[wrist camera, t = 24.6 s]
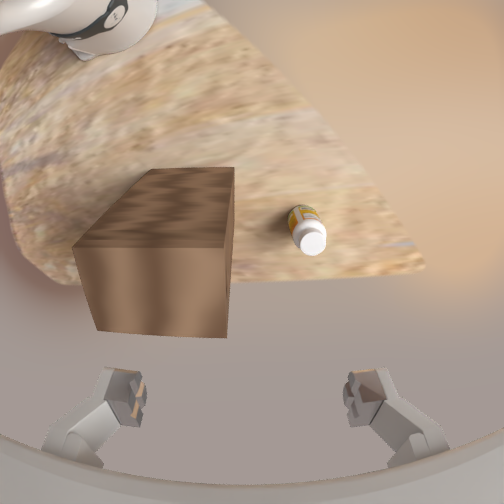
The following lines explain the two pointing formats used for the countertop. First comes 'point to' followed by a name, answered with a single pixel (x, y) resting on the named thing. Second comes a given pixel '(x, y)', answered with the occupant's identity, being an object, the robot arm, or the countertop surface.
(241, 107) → the countertop surface
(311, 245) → the supplement bottle
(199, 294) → the stand
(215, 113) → the countertop surface
